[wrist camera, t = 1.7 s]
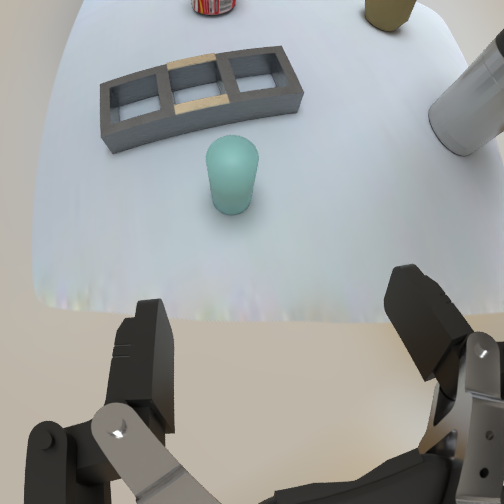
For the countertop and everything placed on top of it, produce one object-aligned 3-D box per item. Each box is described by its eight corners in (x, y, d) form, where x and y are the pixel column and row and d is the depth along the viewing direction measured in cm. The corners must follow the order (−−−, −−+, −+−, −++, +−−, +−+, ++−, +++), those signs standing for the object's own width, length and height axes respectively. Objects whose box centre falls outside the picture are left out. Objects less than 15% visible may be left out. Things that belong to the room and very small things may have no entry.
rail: (277, 66, 35) (281, 44, 31) (297, 112, 34) (304, 91, 30) (109, 102, 33) (99, 83, 29) (112, 153, 32) (100, 136, 27)
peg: (226, 171, 32) (225, 127, 23) (258, 191, 32) (268, 151, 23) (204, 201, 31) (195, 164, 23) (237, 222, 31) (240, 191, 22)
